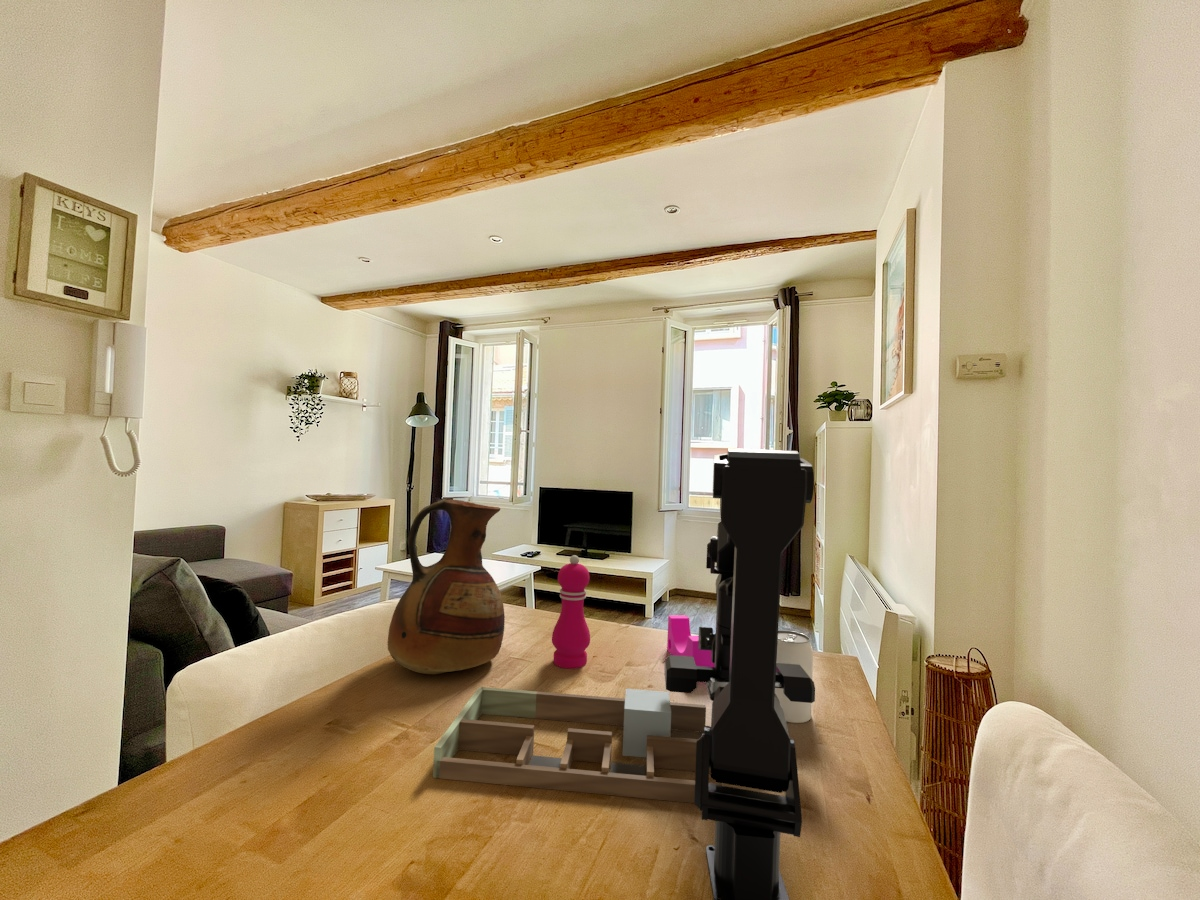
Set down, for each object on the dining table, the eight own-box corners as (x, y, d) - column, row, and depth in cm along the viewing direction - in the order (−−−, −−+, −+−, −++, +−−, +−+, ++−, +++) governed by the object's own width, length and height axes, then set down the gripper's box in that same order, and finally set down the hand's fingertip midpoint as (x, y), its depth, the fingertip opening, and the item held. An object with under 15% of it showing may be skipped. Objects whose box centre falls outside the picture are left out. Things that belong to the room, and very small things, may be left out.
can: (762, 717, 77) (765, 637, 77) (770, 701, 83) (772, 626, 83) (808, 729, 74) (811, 646, 74) (813, 711, 80) (815, 634, 80)
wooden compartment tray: (722, 805, 56) (723, 773, 56) (432, 777, 59) (434, 747, 59) (704, 729, 73) (705, 705, 73) (478, 710, 75) (479, 686, 75)
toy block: (725, 683, 89) (726, 640, 89) (691, 684, 88) (692, 641, 88) (696, 652, 104) (697, 615, 104) (667, 652, 103) (668, 615, 103)
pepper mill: (545, 657, 97) (550, 552, 98) (580, 653, 100) (584, 551, 101) (558, 672, 90) (563, 559, 91) (595, 667, 93) (600, 558, 94)
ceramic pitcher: (512, 679, 87) (520, 504, 88) (384, 694, 79) (394, 502, 80) (492, 640, 105) (499, 495, 106) (387, 650, 97) (395, 494, 98)
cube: (669, 760, 65) (671, 712, 65) (622, 755, 65) (624, 708, 66) (667, 735, 71) (668, 691, 71) (624, 731, 71) (625, 688, 72)
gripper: (792, 611, 75) (789, 719, 74) (664, 603, 76) (660, 708, 76) (818, 636, 64) (814, 763, 63) (668, 626, 65) (663, 749, 65)
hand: (733, 743), depth 67 cm, fingers closed
